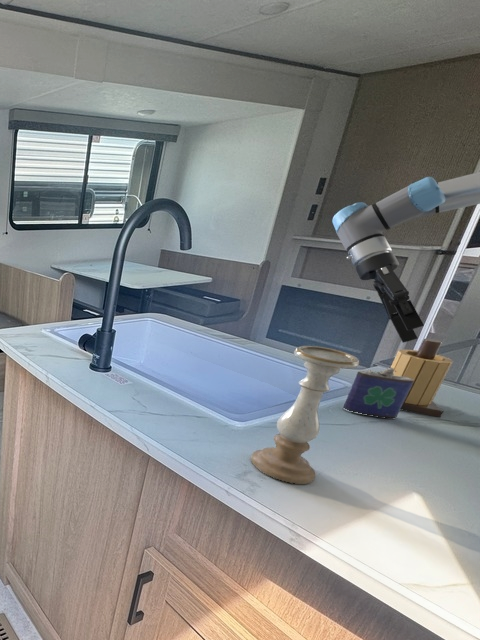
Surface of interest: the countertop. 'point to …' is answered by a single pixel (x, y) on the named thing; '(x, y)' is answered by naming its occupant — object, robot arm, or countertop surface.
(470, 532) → the countertop surface
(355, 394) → the flask
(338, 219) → the robot arm
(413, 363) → the wooden container
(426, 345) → the stand
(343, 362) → the candle holder
